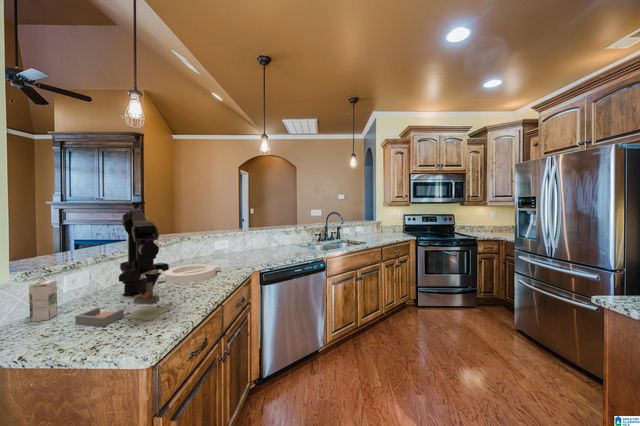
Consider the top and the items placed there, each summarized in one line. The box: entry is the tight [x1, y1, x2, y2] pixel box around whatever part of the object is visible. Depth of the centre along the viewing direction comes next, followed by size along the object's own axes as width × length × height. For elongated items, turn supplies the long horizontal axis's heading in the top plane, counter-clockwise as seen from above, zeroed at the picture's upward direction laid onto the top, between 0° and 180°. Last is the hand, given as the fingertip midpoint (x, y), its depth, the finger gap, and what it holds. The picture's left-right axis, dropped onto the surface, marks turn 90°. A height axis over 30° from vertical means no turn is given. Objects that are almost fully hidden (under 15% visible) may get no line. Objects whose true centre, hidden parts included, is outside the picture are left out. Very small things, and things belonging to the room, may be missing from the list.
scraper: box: [133, 282, 160, 306], centre depth 107 cm, size 4×8×8 cm, turn 80°
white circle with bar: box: [156, 263, 222, 284], centre depth 161 cm, size 28×28×5 cm
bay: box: [74, 307, 125, 327], centre depth 101 cm, size 8×12×3 cm, turn 79°
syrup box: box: [28, 279, 58, 323], centre depth 104 cm, size 6×6×14 cm
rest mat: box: [122, 306, 170, 321], centre depth 107 cm, size 10×12×1 cm
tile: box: [96, 310, 115, 317], centre depth 103 cm, size 6×6×2 cm
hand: (146, 293), depth 107 cm, fingers closed on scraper, 3 cm apart
